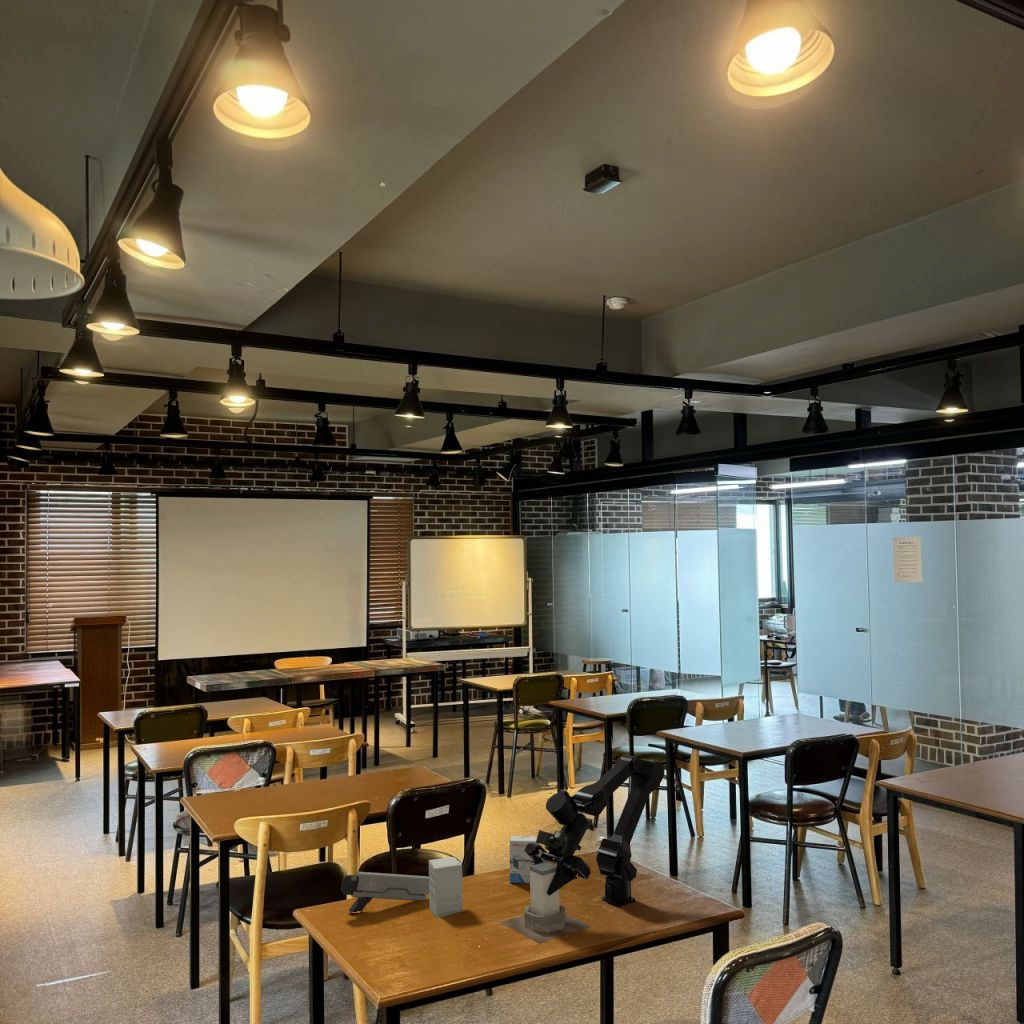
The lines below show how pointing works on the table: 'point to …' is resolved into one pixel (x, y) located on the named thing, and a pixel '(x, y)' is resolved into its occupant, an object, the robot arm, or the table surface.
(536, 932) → the ring stand
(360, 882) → the gun
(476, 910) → the table surface
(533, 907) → the link block
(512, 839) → the ink box
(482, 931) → the table surface
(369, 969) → the table surface
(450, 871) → the supplement box
